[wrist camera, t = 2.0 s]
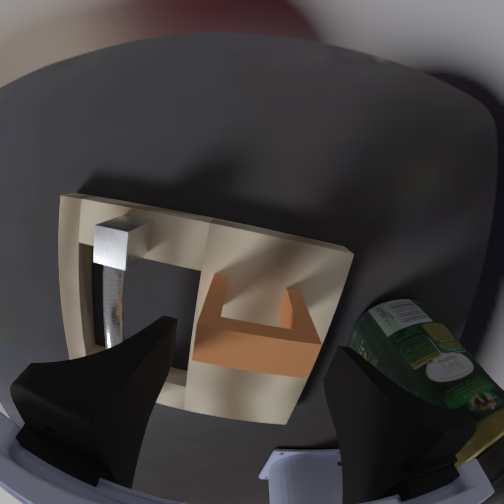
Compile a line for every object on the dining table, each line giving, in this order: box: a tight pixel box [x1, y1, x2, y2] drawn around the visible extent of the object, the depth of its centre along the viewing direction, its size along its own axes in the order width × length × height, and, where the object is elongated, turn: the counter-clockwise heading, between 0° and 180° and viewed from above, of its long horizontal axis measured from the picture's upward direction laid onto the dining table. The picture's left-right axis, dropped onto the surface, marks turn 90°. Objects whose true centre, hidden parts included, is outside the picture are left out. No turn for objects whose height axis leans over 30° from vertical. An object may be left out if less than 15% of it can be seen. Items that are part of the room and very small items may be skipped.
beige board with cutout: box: [58, 193, 354, 425], centre depth 19 cm, size 20×16×2 cm
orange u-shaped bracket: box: [192, 274, 322, 378], centre depth 14 cm, size 5×2×6 cm, turn 78°
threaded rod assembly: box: [93, 215, 153, 349], centre depth 16 cm, size 2×15×4 cm, turn 168°
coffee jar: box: [349, 299, 504, 504], centre depth 12 cm, size 10×8×19 cm
